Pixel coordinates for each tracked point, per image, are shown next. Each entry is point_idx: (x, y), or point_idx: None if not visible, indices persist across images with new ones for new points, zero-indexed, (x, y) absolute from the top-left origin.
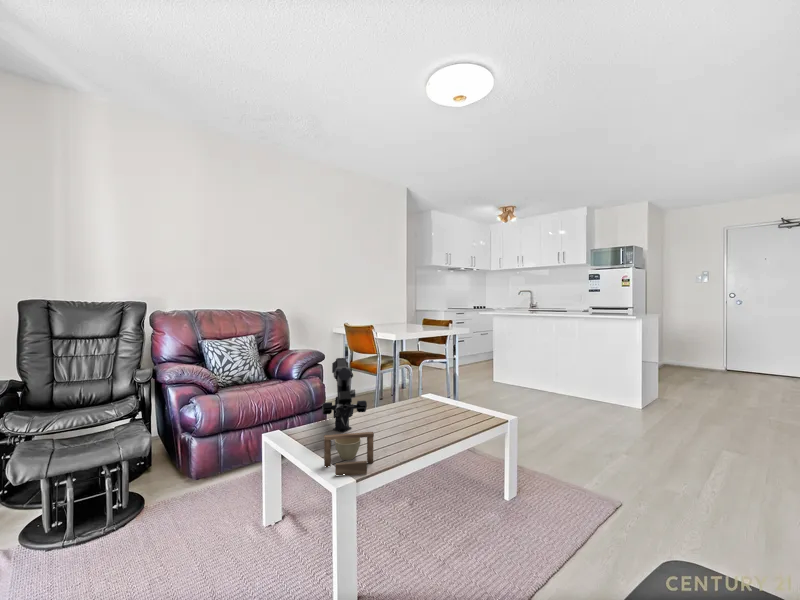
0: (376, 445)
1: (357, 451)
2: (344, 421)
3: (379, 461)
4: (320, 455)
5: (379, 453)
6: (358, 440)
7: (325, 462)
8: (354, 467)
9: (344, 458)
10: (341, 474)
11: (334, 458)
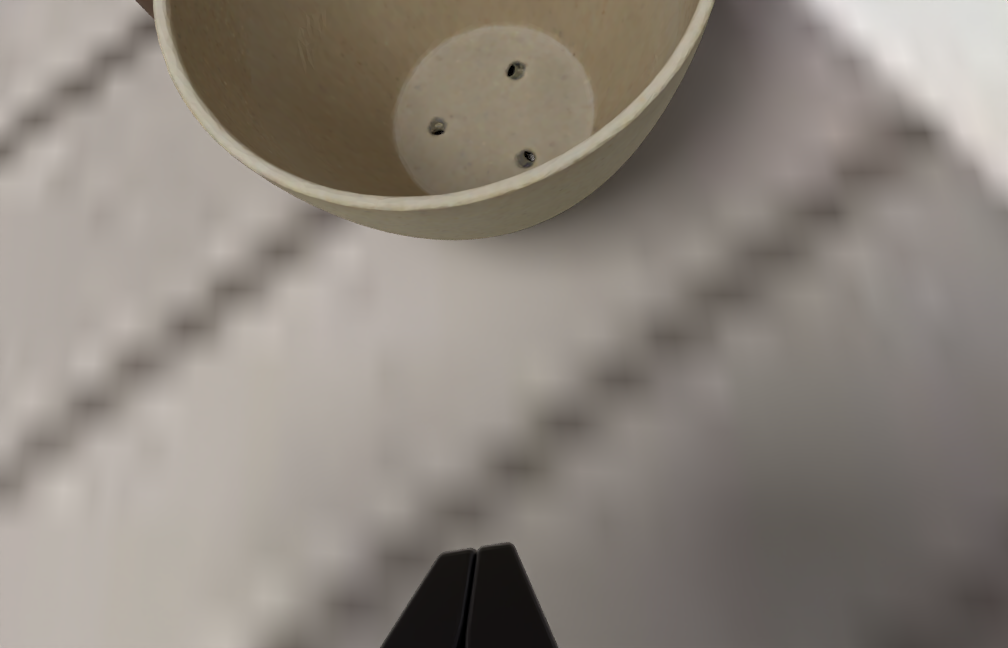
0: (31, 615)
1: (314, 48)
2: (511, 623)
3: (75, 23)
4: (985, 201)
5: (36, 277)
6: (225, 100)
7: None
8: None
9: (535, 2)
10: None
11: (706, 92)
